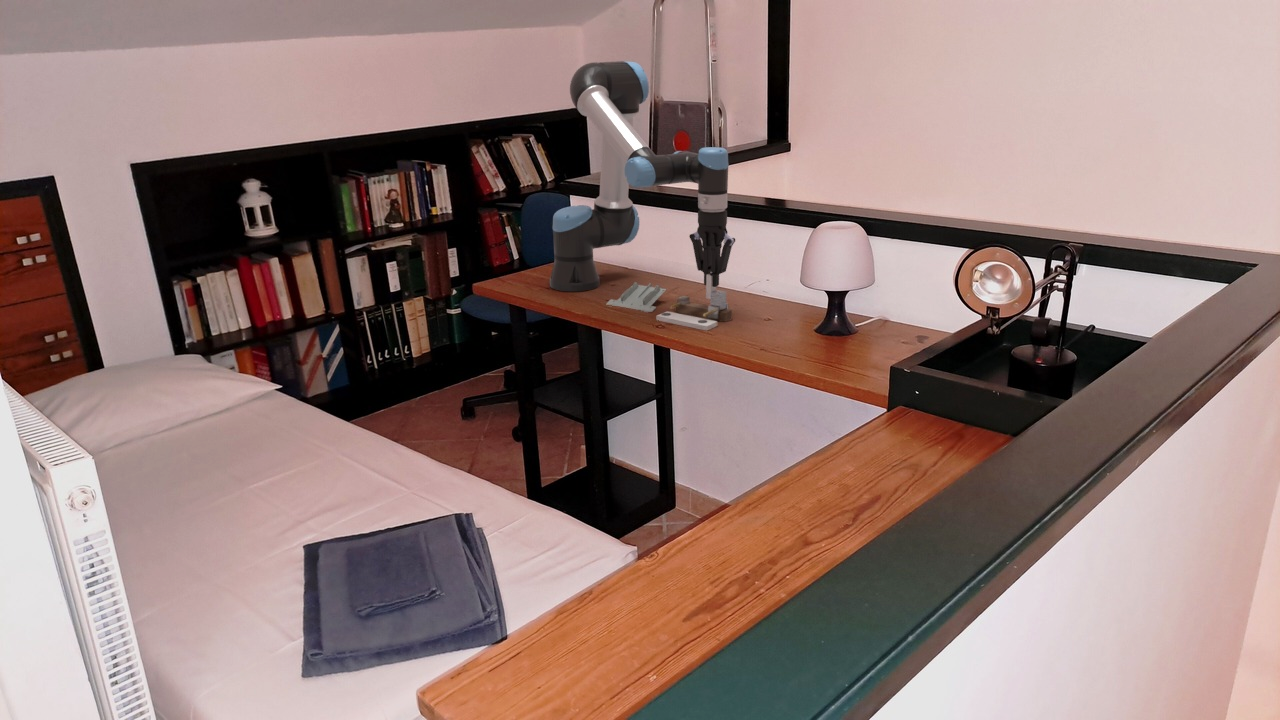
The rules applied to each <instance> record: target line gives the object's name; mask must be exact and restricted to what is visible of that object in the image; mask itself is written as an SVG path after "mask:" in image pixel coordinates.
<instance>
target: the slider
mask: <svg viewBox="0 0 1280 720" xmlns="http://www.w3.org/2000/svg"><path fill="white" fill-rule="evenodd" d="M707 306H708V312H707V313H705V314H703V316H704V317H706V316H708V317H710V318H715V319H719V311H720V310H723V309H728V310H729V303H727V291H726V290H721V289H716V290H715V291H712V292H711V299H710V305H707Z"/></svg>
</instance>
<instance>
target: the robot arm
mask: <svg viewBox="0 0 1280 720" xmlns="http://www.w3.org/2000/svg"><path fill="white" fill-rule="evenodd" d="M648 80H649V79H648V75H647V74H646V72H645V70H644V68H643V67H642V66H641V65H640V64H639V63H638V62H635V61H625V60H618V61H605V62H604V61H603V62H597V61H595V62H589V63H585V64H583V65H582V66H580V67H579V68H578V69H577V70H576V71H575V72H574V74H573V75H572V78H571V80H570V82H569V83H570V85H569V94H570V99H571V101H572V104H573V105H574V107H575V109H577V111H578V112H579V113H580V115H582V116H584V117H588V119H589V120H590V121H591V122H592V124H593V125H594V126H595V128H596V129H597V130H598V132H599V133H600V134H601V135H602V142H601V162H600V181H599V182H600V183H599V196H597V197H596V198H595V199H594V203H593V209H592V207H591V206H589V205H587V204H586V205H585V204H583V205H570V206H567V207H563V208H561V209H558V210H556V211H555V212H554V214H553V216H552V225H551V227H552V234H553V253H554V256H553V257H554V263H553V266H552V269H551V274H550V276H549V287H550V288H551V289H552V290H556V291H561V292H583V291H584V292H586V291H589V290H591V291H592V290H594V289H596V288H598V287H599V286H600V284H601V282H600V281H601V280H600V279H601V278H600V275H599V274H598V271H597V266H596V264H595V261H594V249H600V248H607V247H613V246H614V247H615V246H622V245H624V244H625V245H626V244H629V243H630V242H632V241H633V240H634V239H635V238H636V237H637V235H638V232H639V229H640V217H639V212H638V210H637V209H636V207H635V206H633V205H634V203H633V201H632V200H631V199H630V198H629V189H630V188H629V185H630V186H631V187H632V188H643V189H644V188H645V189H646V188H650V187H656V186H663V185H671V184H673V185H674V184H681V183H682V184H683V183H693V184H698V185H697V186H698V187H697V189H698V190H697V194H698V195H697V201H698V202H697V207H698V209H699V210H698V211H697V223H698V227H697V230H696V231H695V232H693V233H691V234H689V239H690V241H691V242H692V247H693V252H694V257H695V263H696V268H697V270H698V271H701V273H703V285H704V286H705V287H706V288H705V293H706V294H705V299H706V300H707V299H708V300H711V292H712V291H715V290H717V287H719V286H720V275H721V274H723V273H726V271H727V268H728V264H729V259H730V256H731V252H732V247H733V245H734V244H735V242H736V238H735V237H731V236H730V235H729V234H728V230H727V223H728V210H727V208H728V188H729V187H728V186H729V185H728V184H729V166H730V163H729V153H728V150H727V149H726V148H724V147H715V146H712V147H711V146H710V147H709V146H706V147H701V148H700V149H699V150H698V153H696V152H692V151H691V152H690V150H689V151H688V150H683V151H682V150H677V151H675V152H673V153H670V154H659V155H657V154H655V152H654V151H653V150H652V149H651V148H650V147H649V146H648V144H647V143H646V142H645V141H644V139H643V138H642V137H641V136H640V134H639V133H638V132H637V130H635V128H634V127H633V126H634V117H636V115H638V113H640V112H639V111H640V105H641V104H643V103H645V101H647V99H648V97H649V93H650V91H649V89H650V86H649V81H648ZM722 242H723V246H722ZM721 249H722V250H721Z"/></svg>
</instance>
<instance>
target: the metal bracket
mask: <svg viewBox="0 0 1280 720" xmlns="http://www.w3.org/2000/svg"><path fill="white" fill-rule="evenodd" d="M666 292H667V288H661V286H660V285H658V284H656V285H655V287H654V286H652V283H651V282H649V284H648V285H642V284H639V282H638V281H634V282H633V284H632V285H631V286H630V287H629V288H627V289H626V290H625V291H624V292H623V293H622V294H621V295H620V297H618V299H609V301H607V302H606V304H605V306H606V305H612V306H620V307H626V308H631V309H630V310H632V309H636V310H635V311H638V310H641V311H640V312H642V311H644V312H643V313H648V312H652V313H653V312H654V311H655V310H656V309H657V307H656V306H654V304H655V303H656V302H657V301H658V299H659V298H660V297H661V296H662V295H663V294H664V293H666ZM612 306H611V307H612ZM620 307H619V308H620ZM626 308H625V309H626Z"/></svg>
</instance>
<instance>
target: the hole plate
mask: <svg viewBox="0 0 1280 720" xmlns="http://www.w3.org/2000/svg"><path fill="white" fill-rule="evenodd" d="M655 317H656V318H655V319H656V320H655V321H658V320H659V321H660V322H664V323H668V324H671V325H673V324H674V325H678V326H683V327H687V328H692V329H697V330H703V331H709V330H711V329H714V328H716V327H718V320H713V319H708V318H703V317H698V316H693V315H688V314H683V313H678V312H673V311H665V312H661V313H660V314H657V315H656V316H655Z"/></svg>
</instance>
